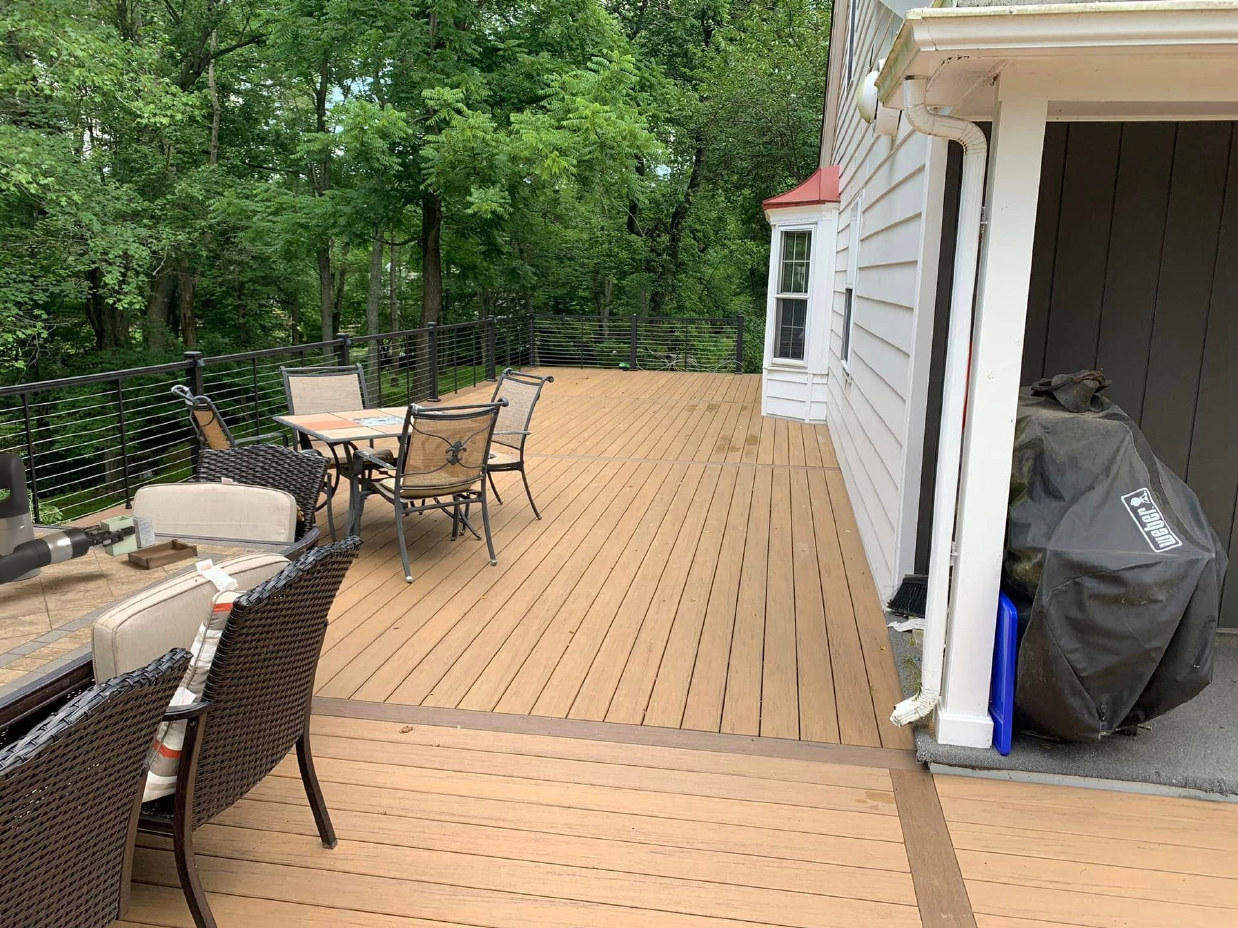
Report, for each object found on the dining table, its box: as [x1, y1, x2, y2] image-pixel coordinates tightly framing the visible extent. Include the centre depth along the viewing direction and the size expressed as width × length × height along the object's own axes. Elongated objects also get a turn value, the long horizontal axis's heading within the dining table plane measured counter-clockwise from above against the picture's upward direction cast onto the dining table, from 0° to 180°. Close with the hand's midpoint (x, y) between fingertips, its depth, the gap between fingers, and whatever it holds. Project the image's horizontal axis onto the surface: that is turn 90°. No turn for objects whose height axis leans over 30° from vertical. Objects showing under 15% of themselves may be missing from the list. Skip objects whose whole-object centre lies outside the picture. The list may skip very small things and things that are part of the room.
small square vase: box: [99, 514, 139, 558], centre depth 237 cm, size 5×6×9 cm
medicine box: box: [126, 513, 157, 549], centre depth 264 cm, size 8×4×9 cm, turn 58°
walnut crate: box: [127, 538, 199, 570], centre depth 251 cm, size 12×14×3 cm
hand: (127, 527), depth 238 cm, fingers closed on small square vase, 5 cm apart
